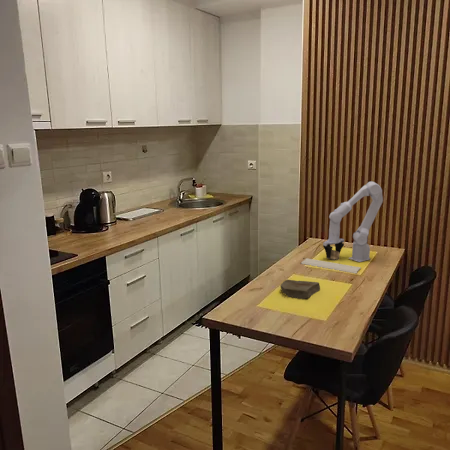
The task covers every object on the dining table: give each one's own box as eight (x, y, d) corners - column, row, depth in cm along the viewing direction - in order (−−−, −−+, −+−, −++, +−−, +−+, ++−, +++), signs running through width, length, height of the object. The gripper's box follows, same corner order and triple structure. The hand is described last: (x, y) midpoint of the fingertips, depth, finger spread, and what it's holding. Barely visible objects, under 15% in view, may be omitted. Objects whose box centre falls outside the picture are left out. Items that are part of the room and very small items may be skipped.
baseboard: (355, 275, 215) (360, 270, 224) (355, 270, 215) (361, 265, 223) (299, 265, 231) (306, 260, 239) (299, 260, 230) (306, 255, 239)
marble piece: (320, 289, 196) (320, 281, 195) (315, 301, 183) (315, 292, 182) (284, 285, 202) (285, 276, 201) (277, 296, 189) (277, 287, 188)
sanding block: (331, 256, 244) (331, 249, 243) (339, 259, 239) (339, 252, 238) (326, 258, 242) (326, 250, 241) (334, 260, 237) (334, 253, 236)
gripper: (337, 229, 244) (336, 252, 248) (319, 233, 237) (318, 256, 240) (347, 232, 239) (345, 255, 242) (329, 236, 231) (327, 259, 234)
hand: (332, 256), depth 241 cm, fingers open, 7 cm apart
